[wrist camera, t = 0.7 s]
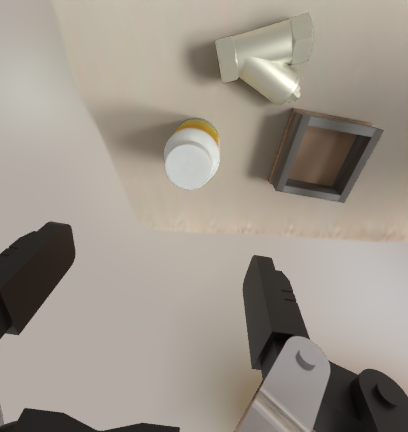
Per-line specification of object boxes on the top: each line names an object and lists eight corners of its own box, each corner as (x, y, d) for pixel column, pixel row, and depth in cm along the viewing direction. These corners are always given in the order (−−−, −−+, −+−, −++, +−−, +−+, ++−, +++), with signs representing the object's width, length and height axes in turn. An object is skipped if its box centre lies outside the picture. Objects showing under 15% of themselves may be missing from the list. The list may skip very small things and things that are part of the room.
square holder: (368, 122, 26) (386, 128, 23) (333, 192, 30) (345, 204, 27) (292, 108, 25) (301, 112, 23) (268, 180, 30) (273, 192, 27)
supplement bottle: (222, 159, 29) (224, 193, 21) (180, 166, 29) (166, 201, 21) (215, 112, 26) (214, 130, 18) (169, 121, 27) (148, 142, 19)
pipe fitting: (300, 95, 25) (299, 16, 22) (312, 102, 22) (314, 10, 18) (227, 113, 27) (214, 41, 23) (228, 122, 23) (214, 40, 20)
